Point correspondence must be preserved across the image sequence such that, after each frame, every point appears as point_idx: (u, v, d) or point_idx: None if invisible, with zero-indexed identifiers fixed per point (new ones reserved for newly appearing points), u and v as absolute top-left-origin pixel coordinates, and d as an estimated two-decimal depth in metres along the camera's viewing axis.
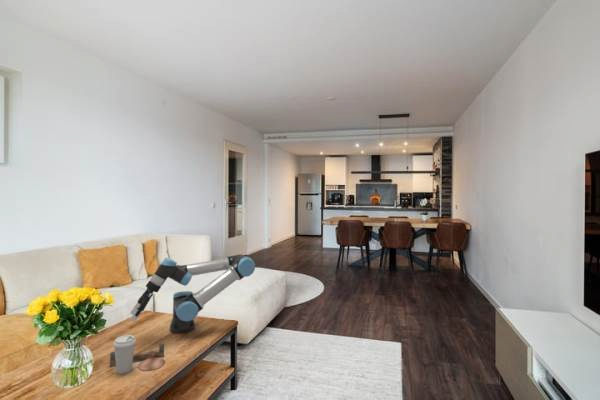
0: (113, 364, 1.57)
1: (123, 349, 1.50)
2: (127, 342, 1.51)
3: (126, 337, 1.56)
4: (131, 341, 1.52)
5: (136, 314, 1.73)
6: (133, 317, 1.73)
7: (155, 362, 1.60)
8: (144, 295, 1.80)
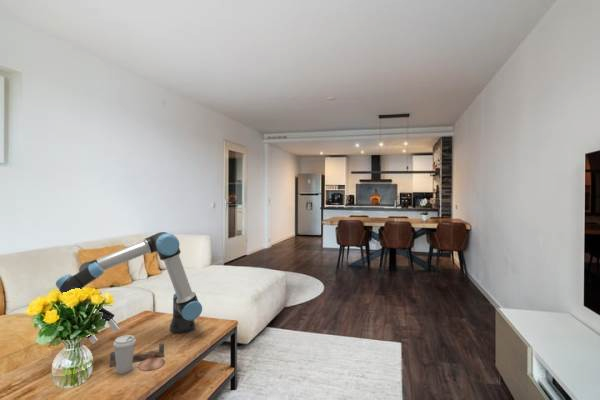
0: (113, 364, 1.57)
1: (123, 349, 1.50)
2: (127, 342, 1.51)
3: (126, 337, 1.56)
4: (131, 341, 1.52)
5: None
6: (91, 339, 1.49)
7: (155, 362, 1.60)
8: None
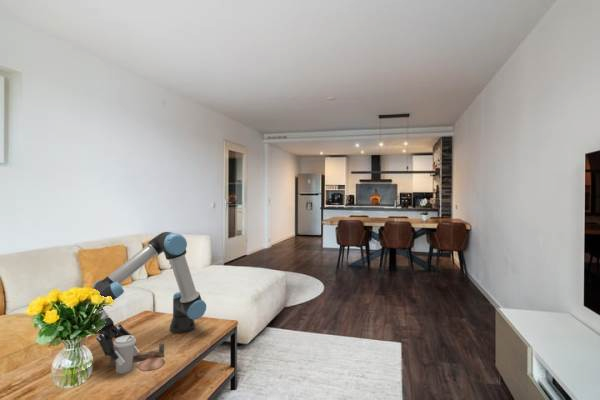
0: (113, 364, 1.57)
1: (123, 349, 1.50)
2: (127, 342, 1.51)
3: (126, 337, 1.56)
4: (131, 341, 1.52)
5: (114, 358, 1.47)
6: (118, 361, 1.48)
7: (155, 362, 1.60)
8: (106, 339, 1.53)
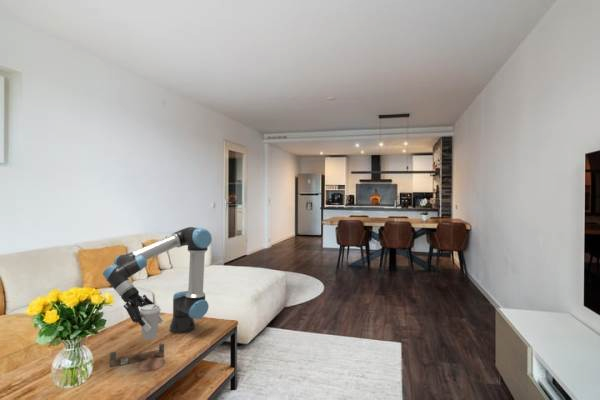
0: (113, 364, 1.57)
1: (149, 316, 1.55)
2: (153, 310, 1.56)
3: (151, 306, 1.61)
4: (156, 309, 1.58)
5: (141, 324, 1.53)
6: (145, 327, 1.53)
7: (155, 362, 1.60)
8: (132, 307, 1.58)
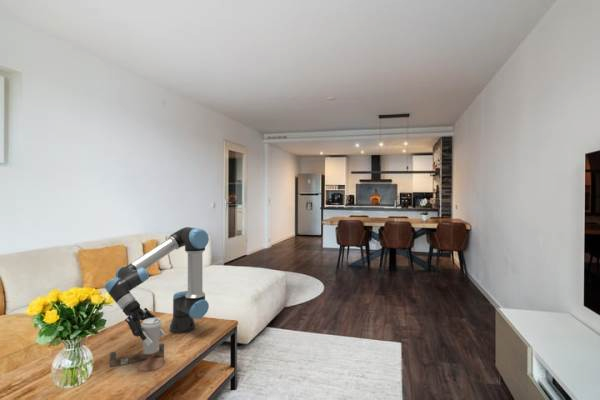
0: (113, 364, 1.57)
1: (150, 330, 1.55)
2: (154, 323, 1.56)
3: (152, 319, 1.61)
4: (158, 323, 1.58)
5: (142, 339, 1.53)
6: (146, 341, 1.53)
7: (155, 362, 1.60)
8: (133, 321, 1.58)
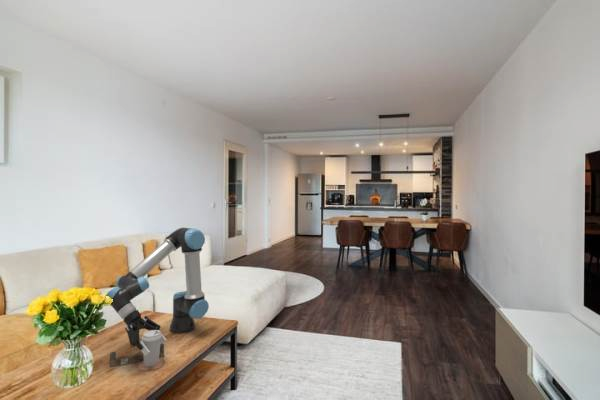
0: (113, 364, 1.57)
1: (151, 343, 1.55)
2: (155, 336, 1.56)
3: (153, 332, 1.61)
4: (158, 335, 1.58)
5: (139, 348, 1.51)
6: (143, 351, 1.52)
7: None
8: None
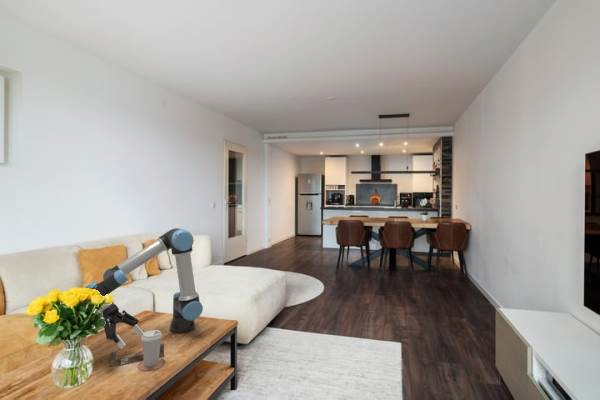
0: (113, 364, 1.57)
1: (151, 343, 1.55)
2: (155, 336, 1.56)
3: (153, 332, 1.61)
4: (158, 335, 1.58)
5: (115, 341, 1.54)
6: (119, 344, 1.55)
7: None
8: None
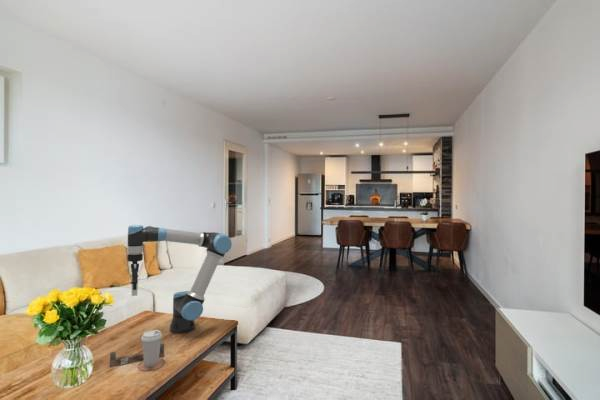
0: (113, 364, 1.57)
1: (151, 343, 1.55)
2: (155, 336, 1.56)
3: (153, 332, 1.61)
4: (158, 335, 1.58)
5: (133, 288, 1.69)
6: (133, 292, 1.70)
7: None
8: (131, 269, 1.73)
